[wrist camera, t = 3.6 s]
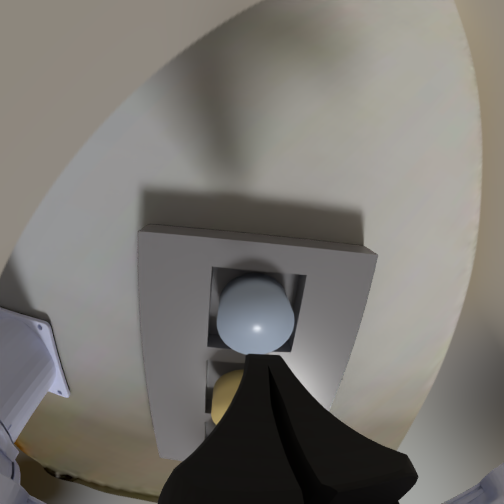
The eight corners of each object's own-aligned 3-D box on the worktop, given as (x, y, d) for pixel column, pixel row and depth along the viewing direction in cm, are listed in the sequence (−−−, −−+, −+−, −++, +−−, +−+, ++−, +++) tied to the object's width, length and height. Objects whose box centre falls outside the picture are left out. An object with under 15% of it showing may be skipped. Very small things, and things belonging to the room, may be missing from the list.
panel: (163, 441, 21) (159, 457, 19) (149, 224, 16) (138, 231, 14) (301, 449, 22) (304, 464, 20) (364, 245, 17) (378, 255, 15)
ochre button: (212, 409, 18) (210, 432, 15) (214, 367, 16) (212, 390, 14) (269, 412, 18) (272, 435, 16) (279, 370, 17) (283, 394, 15)
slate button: (217, 331, 17) (214, 352, 15) (221, 269, 16) (219, 285, 14) (281, 336, 17) (287, 356, 15) (292, 276, 16) (300, 291, 14)
